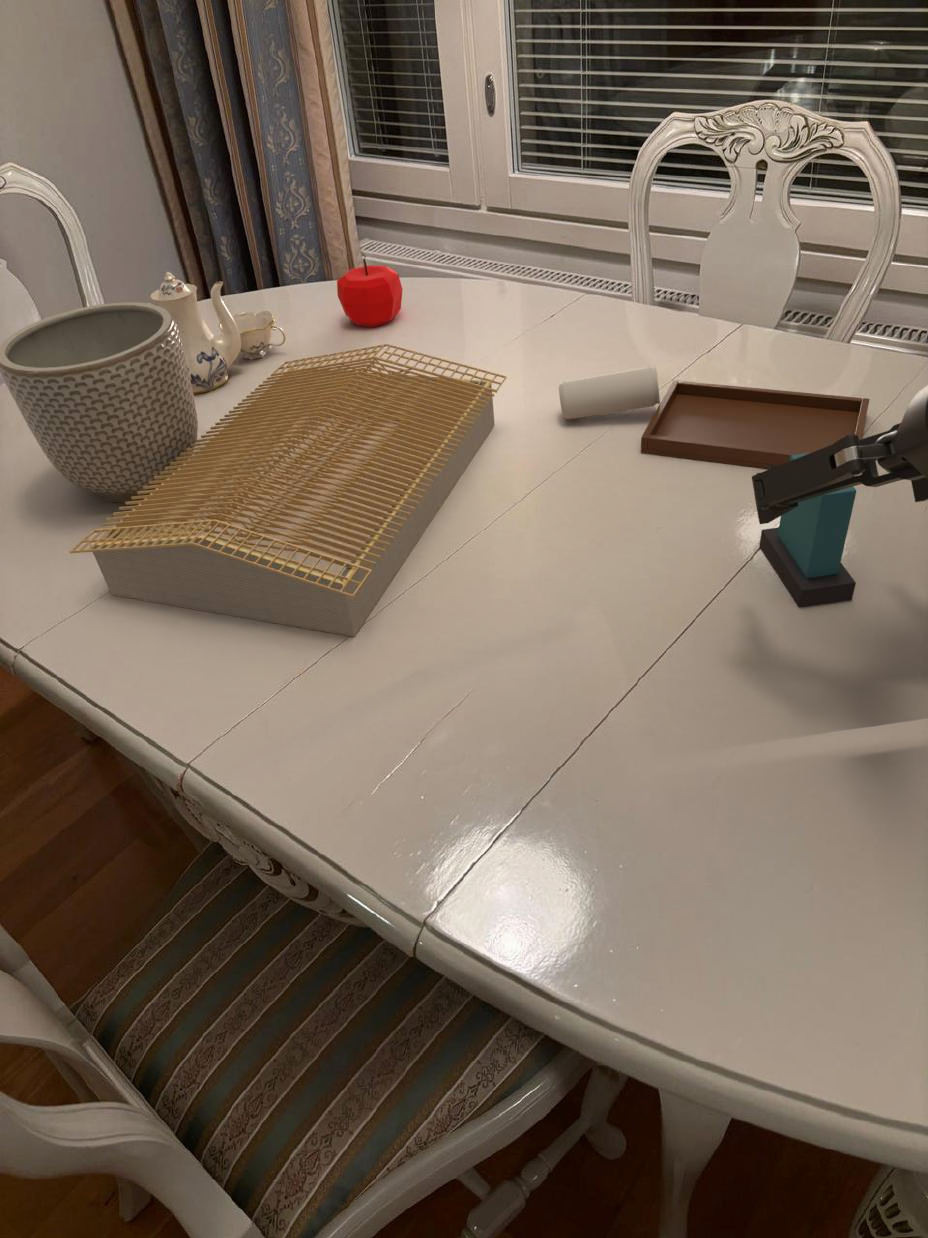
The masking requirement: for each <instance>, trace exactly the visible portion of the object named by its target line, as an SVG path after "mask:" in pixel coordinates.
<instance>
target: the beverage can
mask: <svg viewBox="0 0 928 1238" xmlns="http://www.w3.org/2000/svg"><path fill="white" fill-rule="evenodd" d="M558 396H559V402H560V410H561V415H562V418H563V419H565V420H567V421H569V420H576V419H582V418H587V417H594V416H599V415H604V414H612V413H619V412H625V411H630V410H636V409H644V408H649V407H654V406H655V405H656V404H657V405H660V403H661V398H660V397H661V396H660V387H659V380H658V371H657V367H656V366H653V367H652V366H643V367H638V368H633V369H626V370H621V371H616V372H615V371H614V372H610V373H605V374H599V375H592V376H586V377H581V378H575V379H569V380H564V381H562V382H561V383H560V384H559V385H558Z"/></svg>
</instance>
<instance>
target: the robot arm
mask: <svg viewBox="0 0 928 1238" xmlns="http://www.w3.org/2000/svg"><path fill="white" fill-rule="evenodd" d="M877 464H878V465H879V467H880V468H882V469H883V470H885V471H886V472H887V473H885V474H881V475H879V472H878V465H877ZM903 480H905V481H910V482H911V488H912V492H913V497H914V503H921V502H925V501H928V384H927V385H925V386H923V388H921V389H920V390H919V391H917V392H916V394H915V395H914V396H913V397H912V399H911V400H910V401H909V404H908V405H907V407H906V409H905V412H904V414H903V417H902V419H901V421H900V422H899V423H896V424H894V425H892V426H891V428H889V430H885V431H883V432H880V433H876V434H874V435H871V436H868V437H865V438H864V437H863V438H862V439H861V440H859V436H858V435H847V436H845V437H844V438H841V439H840V440H838V441H836V442H834V443H833V444H831V445H829V446H827V447H825V448H822V449H820V450H817V451H815V452H812V453H809V454H807V455H804V456H802V457H799V458H797V459H794V460H792V461H789V462H787V463H784V464H782V465H774V464H773V465H771V466H770V469H767V470H764V471H762V472H757V473H755V474H753V475H752V476H751V482H752V487H753V495H754V500H755V506H756V512H757V513H756V514H757V517H758V523H759V525H765V524H769V523H771V522H773V521H775V520H776V519H778V518H781V516H782V515H783V514H785V513H787V512H789V511H790V510H792V509H794V508H796V507H797V506H798V502H800V501H804V500H807V499H811V498H814V497H818V496H821V495H825V494H828V493H832V492H835V491H839V490H842V489H846V488H850V487H856V486H859V485H863V486H865V487H870V488H877V487H881V486H885V485H889V484H893V483H896V482H899V481H903Z"/></svg>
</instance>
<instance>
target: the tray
mask: <svg viewBox="0 0 928 1238" xmlns="http://www.w3.org/2000/svg"><path fill="white" fill-rule="evenodd" d="M870 400H871V399H870V398H867V397H866V398H865V397H855V396H845V395H844V396H843V395H833V394H824V393H814V392H813V393H811V392H802V391H792V390H781V389H769V388H759V387H749V386H748V387H747V386H738V385H727V384H717V383H708V382H707V383H705V382H695V381H686V380H675V379H672V381H671V383H670V385H669V387H668V388H667V390H666V392H665V393H664V396H663V398H662V399H661V400H660V404H658V407H657V409H656V410H655V412H654V413H653V415H652V417H651V419H650V421H649V422H648V425H647V426H646V428H645V430H644V432H643V434H642V436H641V437H640V443H641V444H640V453H641V454H647V455H648V454H649V455H655V456H656V455H657V456H664V457H672V458H680V459H687V460H694V461H703V462H711V463H719V464H728V465H734V466H743V467H752V468H760V469H767V470H769V469H770V466H771V465H773V464H774V465H782V464H784V463H787V462H789V461H790V457H791V455H799V454H806V453H812V452H815V451H817V450H820V449H822V448H825V447H827V446H829V445H831V444H833V443H834V442H836V441H838V440H840V439H841V438H844V437H845V436H847V435H858V436H859V440H861V439H863V435H864V430H865V424H866V420H867V414H868V409H869V404H870Z"/></svg>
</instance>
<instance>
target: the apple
mask: <svg viewBox="0 0 928 1238" xmlns="http://www.w3.org/2000/svg"><path fill="white" fill-rule="evenodd" d="M362 263H363V266H360V267H359V266H358V267H355V268H351V269H349V271H347V272H345V273H344V274H343V275H342V276H341V277H340V278H339V279H337V280H336V289H337V290H336V291H337V292H336V293H337V298H338V300H339V302H340V305H341V307H342V310H343V312H344V314H345V316H346V317H347V318H348V319H349V320H350V321H351V322H353V323H355V324H356V325H357V326H358V327H368V328H375V327H379V326H382V325H386V324H388V323H389V322H390V321H392V320H393V319H394V318H396V316H397V315H398V313H399V312H400V311H401V309H402V300H403V286H402V282H401V278H400V275H399V274H398V272H396V271H395V270H393V269H392V268H391V267H389V266H387V265H367V264H368V263H367V252H366V253H363V259H362Z"/></svg>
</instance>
